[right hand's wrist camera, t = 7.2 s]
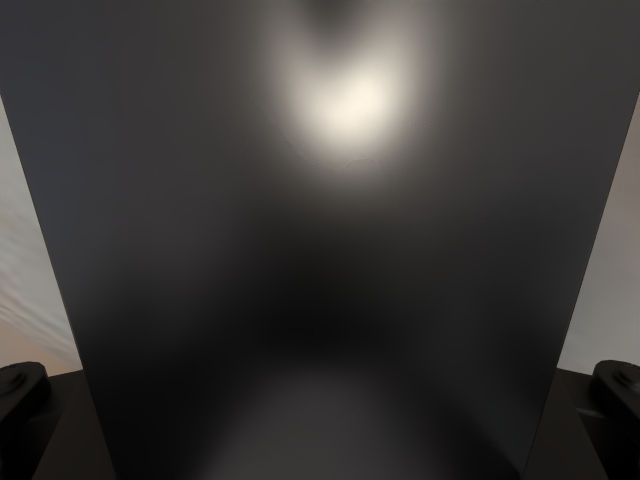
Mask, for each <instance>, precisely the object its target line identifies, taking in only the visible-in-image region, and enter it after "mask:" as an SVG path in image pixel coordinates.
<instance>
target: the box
mask: <svg viewBox="0 0 640 480" xmlns="http://www.w3.org/2000/svg"><path fill="white" fill-rule="evenodd" d="M639 92H640V0H0V95H1V98H2V102H3V105H4V108H5V112H6V115H7V118H8V122H9V125H10V128H11V131H12V135H13V138H14V141H15V145H16V148H17V151H18V155H19V158H20V161H21V165H22V168H23V171H24V174H25V178H26V181H27V184H28V188H29V191H30V194H31V198H32V201H33V204H34V208H35V211H36V214H37V217H38V221H39V224H40V227H41V231H42V234H43V237H44V241H45V244H46V247H47V251H48V254H49V257H50V260H51V264H52V267H53V270H54V274H55V277H56V280H57V284H58V287H59V290H60V294H61V297H62V300H63V304H64V307H65V310H66V313H67V317H68V320H69V323H70V327H71V330H72V333H73V337H74V340H75V343H76V347H77V350H78V353H79V356H80V360H81V363H82V366H83V370H84V373H85V376H86V380H87V383H88V386H89V390H90V393H91V396H92V399H93V403H94V406H95V409H96V413H97V416H98V419H99V423H100V426H101V429H102V433H103V436H104V439H105V442H106V446H107V449H108V452H109V456H110V459H111V462H112V466H113V469H114V472H121V474H122V477H123V480H517V477H518V474H519V472H524V471H525V470H526V467H527V463H528V460H529V457H530V453H531V450H532V447H533V443H534V440H535V437H536V434H537V430H538V427H539V424H540V420H541V417H542V414H543V410H544V407H545V404H546V400H547V397H548V394H549V390H550V387H551V384H552V380H553V377H554V374H555V371H556V367H557V364H558V361H559V357H560V354H561V351H562V347H563V344H564V341H565V337H566V334H567V331H568V327H569V324H570V321H571V317H572V314H573V311H574V308H575V304H576V301H577V298H578V294H579V291H580V288H581V284H582V281H583V278H584V274H585V271H586V268H587V264H588V261H589V258H590V254H591V251H592V248H593V245H594V241H595V238H596V235H597V231H598V228H599V225H600V221H601V218H602V215H603V211H604V208H605V205H606V201H607V198H608V195H609V191H610V188H611V185H612V182H613V178H614V175H615V172H616V168H617V165H618V162H619V158H620V155H621V152H622V148H623V145H624V142H625V138H626V135H627V132H628V128H629V125H630V122H631V119H632V115H633V112H634V109H635V105H636V102H637V99H638V95H639Z"/></svg>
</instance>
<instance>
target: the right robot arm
mask: <svg viewBox="0 0 640 480" xmlns="http://www.w3.org/2000/svg"><path fill="white" fill-rule="evenodd" d="M0 480H123V477H122V474H121V472H114V469H113V466H112V462H111V459H110V456H109V452H108V449H107V446H106V442H105V439H104V436H103V433H102V429H101V426H100V423H99V419H98V416H97V413H96V409H95V406H94V403H93V399H92V396H91V393H90V390H89V386H88V383H87V380H86V376H85V373H84V370H83V369H82V370H79V371H75V372H70V373H65V374H60V375H55V376H51V377H48V375H47V372H46V369H45V367H44V366H43V365H42V364H40V363H39V362H22V363H16V364H12V365H9V366H5V367H2V368H0ZM517 480H640V366H637V365H634V364H631V363H627V362H622V361H615V360H605V361H600V362H599V363H597V364H596V366H595V368H594V371H593V374H592V375H587V374H582V373H578V372H573V371H568V370H563V369H559V368H557V367H556V371H555V374H554V377H553V380H552V384H551V387H550V390H549V394H548V397H547V400H546V404H545V407H544V410H543V414H542V417H541V420H540V424H539V427H538V430H537V434H536V437H535V440H534V443H533V447H532V450H531V453H530V457H529V460H528V463H527V467H526V470H525V471H524V472H519V474H518V477H517Z"/></svg>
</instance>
